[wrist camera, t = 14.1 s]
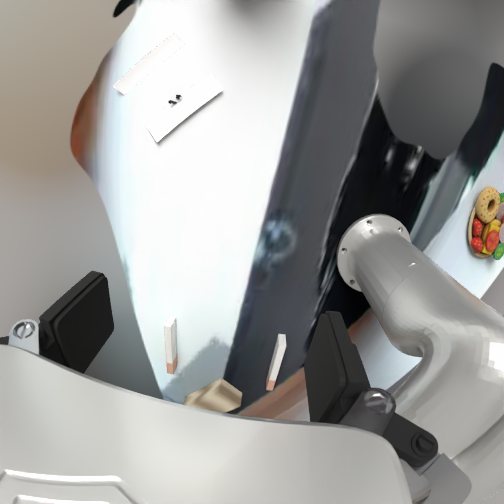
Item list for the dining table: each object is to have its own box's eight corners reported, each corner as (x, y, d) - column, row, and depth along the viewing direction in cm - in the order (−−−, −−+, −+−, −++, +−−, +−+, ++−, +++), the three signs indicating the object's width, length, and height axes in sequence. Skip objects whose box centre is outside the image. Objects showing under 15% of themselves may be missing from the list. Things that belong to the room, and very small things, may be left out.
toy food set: (475, 178, 33) (486, 181, 30) (511, 198, 33) (522, 202, 30) (456, 249, 38) (466, 256, 35) (494, 260, 38) (503, 266, 35)
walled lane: (285, 334, 45) (286, 345, 43) (272, 379, 50) (272, 390, 47) (169, 315, 45) (163, 325, 43) (171, 362, 50) (167, 372, 47)
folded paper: (159, 142, 35) (154, 142, 33) (118, 88, 32) (112, 86, 30) (226, 90, 32) (224, 87, 30) (179, 37, 29) (175, 32, 27)
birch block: (221, 377, 51) (219, 391, 47) (242, 391, 52) (240, 406, 48) (185, 395, 54) (181, 408, 50) (205, 408, 56) (202, 421, 52)
